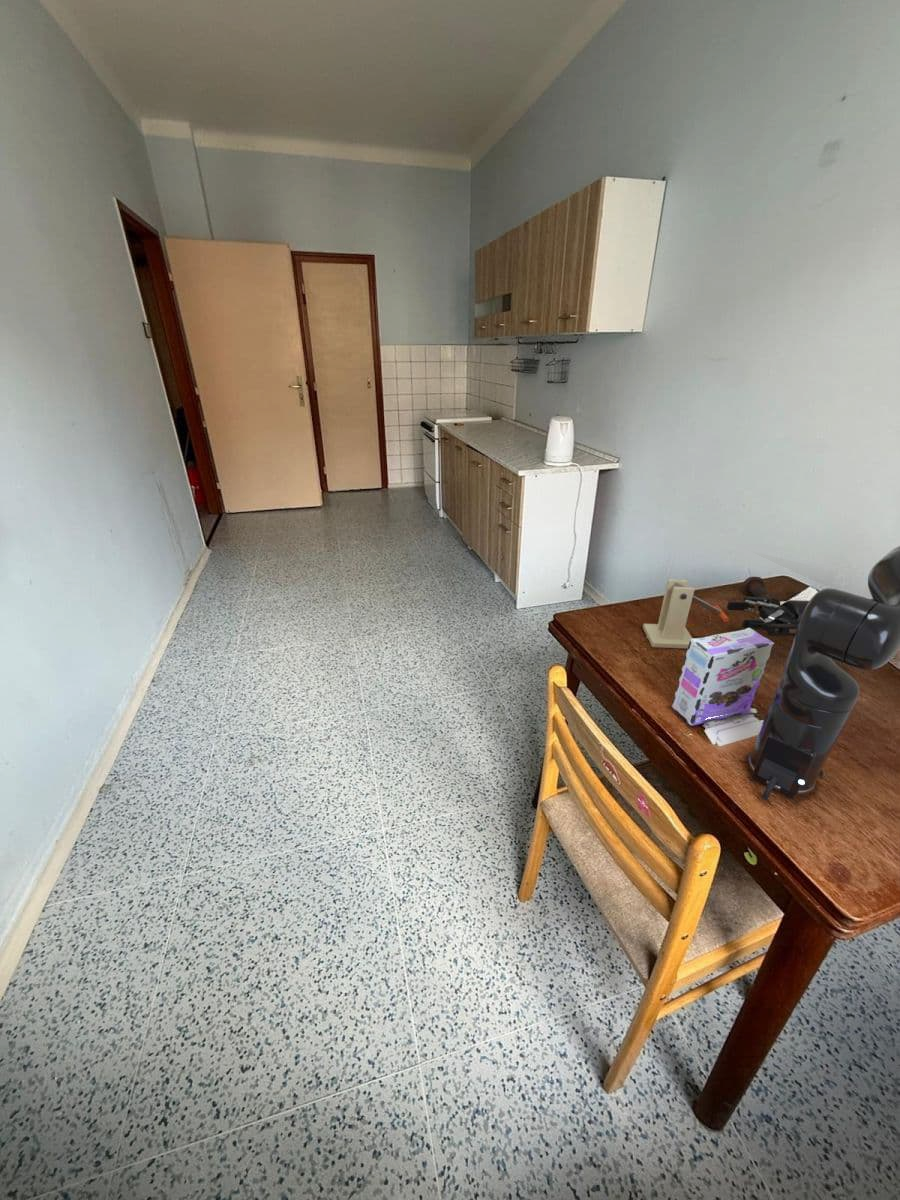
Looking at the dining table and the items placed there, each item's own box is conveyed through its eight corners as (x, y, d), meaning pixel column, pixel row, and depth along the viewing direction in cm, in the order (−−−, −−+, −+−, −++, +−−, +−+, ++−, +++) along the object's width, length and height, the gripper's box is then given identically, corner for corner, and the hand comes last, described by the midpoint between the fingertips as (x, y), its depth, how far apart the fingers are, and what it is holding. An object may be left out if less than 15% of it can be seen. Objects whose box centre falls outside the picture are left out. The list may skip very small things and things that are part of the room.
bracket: (683, 629, 119) (696, 576, 112) (695, 649, 111) (711, 593, 104) (642, 627, 120) (653, 575, 113) (652, 647, 112) (664, 592, 105)
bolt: (770, 623, 124) (745, 595, 137) (791, 616, 122) (763, 588, 135) (764, 607, 122) (739, 580, 134) (785, 599, 120) (758, 572, 133)
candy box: (690, 727, 89) (712, 655, 81) (670, 707, 94) (688, 637, 86) (750, 713, 92) (777, 642, 84) (727, 694, 97) (750, 625, 89)
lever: (714, 612, 114) (721, 604, 113) (724, 624, 109) (732, 617, 108) (667, 586, 112) (673, 578, 111) (675, 598, 107) (682, 590, 106)
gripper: (797, 588, 114) (727, 586, 115) (833, 618, 101) (754, 615, 103) (787, 615, 117) (719, 613, 119) (821, 647, 105) (744, 644, 106)
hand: (735, 614), depth 111 cm, fingers open, 8 cm apart
